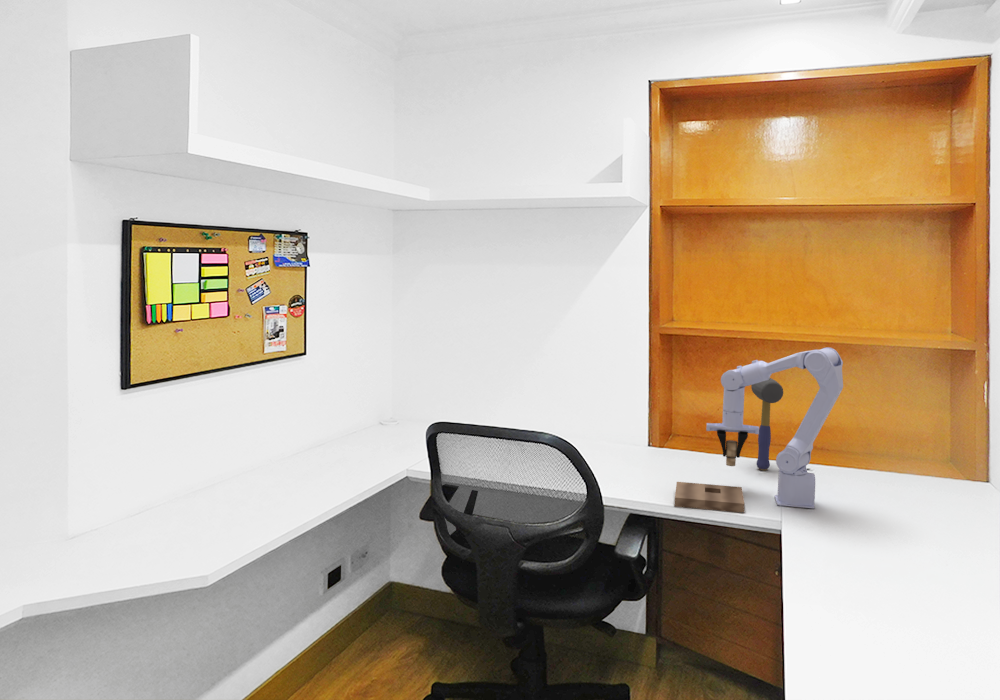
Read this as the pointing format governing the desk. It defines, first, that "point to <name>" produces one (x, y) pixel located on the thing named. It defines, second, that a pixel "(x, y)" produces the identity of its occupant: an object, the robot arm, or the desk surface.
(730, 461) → the peg
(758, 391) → the rubber mallet
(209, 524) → the desk surface
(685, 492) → the board
